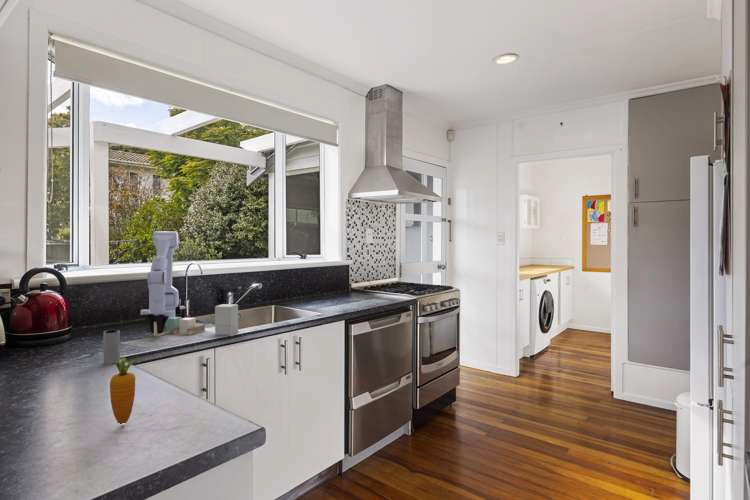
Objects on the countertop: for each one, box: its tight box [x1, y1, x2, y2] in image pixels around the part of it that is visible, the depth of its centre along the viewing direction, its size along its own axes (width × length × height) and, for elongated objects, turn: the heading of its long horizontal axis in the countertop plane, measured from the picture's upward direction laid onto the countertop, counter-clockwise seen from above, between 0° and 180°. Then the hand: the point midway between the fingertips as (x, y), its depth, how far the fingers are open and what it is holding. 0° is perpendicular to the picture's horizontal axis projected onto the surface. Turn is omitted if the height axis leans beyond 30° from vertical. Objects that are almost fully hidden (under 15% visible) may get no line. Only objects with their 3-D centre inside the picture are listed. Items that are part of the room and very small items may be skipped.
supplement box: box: [214, 303, 239, 337], centre depth 180 cm, size 7×7×13 cm
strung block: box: [153, 316, 183, 338], centre depth 177 cm, size 4×13×6 cm, turn 166°
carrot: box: [109, 357, 136, 424], centre depth 90 cm, size 5×5×15 cm
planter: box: [102, 329, 121, 365], centre depth 137 cm, size 4×4×10 cm
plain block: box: [179, 317, 197, 334], centre depth 179 cm, size 4×4×6 cm
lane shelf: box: [163, 323, 206, 336], centre depth 181 cm, size 15×10×3 cm, turn 76°
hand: (157, 333), depth 172 cm, fingers closed on strung block, 2 cm apart
